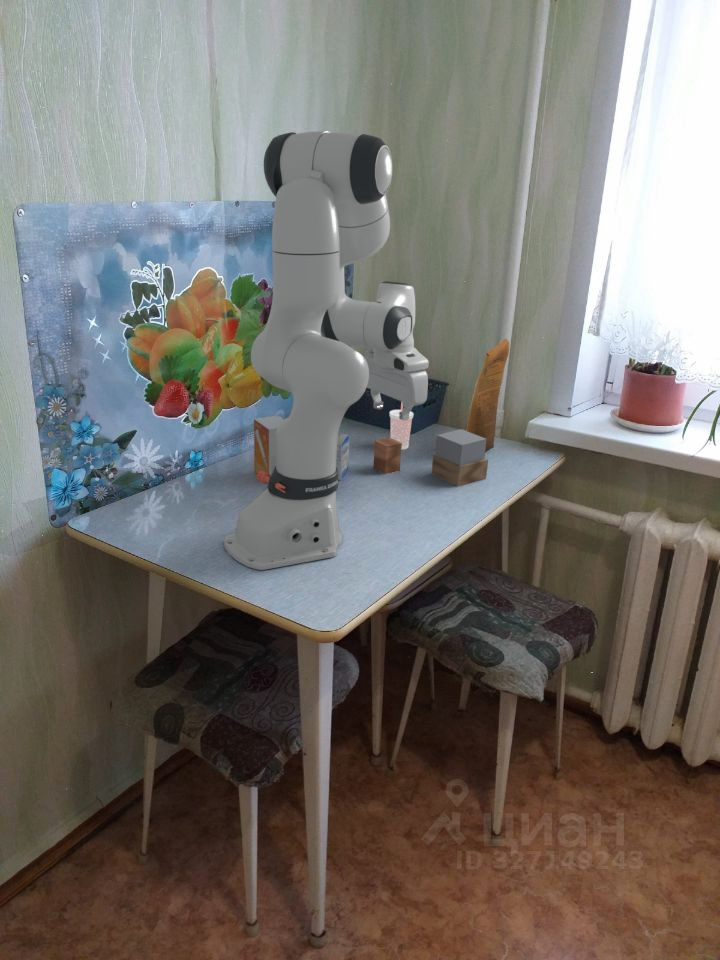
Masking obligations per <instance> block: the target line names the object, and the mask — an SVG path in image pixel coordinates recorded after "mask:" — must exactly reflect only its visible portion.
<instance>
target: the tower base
mask: <svg viewBox="0 0 720 960" xmlns="http://www.w3.org/2000/svg"><path fill="white" fill-rule="evenodd" d="M488 463H489V459H487V458H485V457H484V459H483V460H480V461H476V462H473V463H469V464H466V465H462V466H459V465H456V464H454V463H452V462H449V461H447V460H445V459H443V458H440V457H438V456H436V455H435V454H432V463H431V464H432V465H431V475H433V476H436V477H437V478H439V479H441V480H443V481H446V482H448V483H450V484H452V485H454V486H456V487H461V486H464V485H468V484H472V483H476V482H480V481H484V480H486V479H487V475H488V473H487V472H488V466H489V464H488Z"/></svg>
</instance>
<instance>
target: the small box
mask: <svg viewBox="0 0 720 960" xmlns="http://www.w3.org/2000/svg"><path fill="white" fill-rule="evenodd" d="M283 420H285V419H284V418H283V417H281V416H280V415H273V416H265V417H257V418H254V419H253V436H254V437H253V447H254V451H253V452H254V453H253V454H254V455H253V456H254V460H253V462H254V463H253V465H254V468H253V470H254V473H255V474H256V475H257V474H259V473H258V472H259V471H265V472H266V473H268V474H269V475H270V477H271V475H272V472H273V470H274V467H275V466H276V430H277V427H278V426H279V424H280V423H281V422H282V421H283Z"/></svg>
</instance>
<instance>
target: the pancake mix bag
mask: <svg viewBox="0 0 720 960" xmlns="http://www.w3.org/2000/svg"><path fill="white" fill-rule="evenodd" d="M509 351H510V342H509V340H508V339H507V338H504V339H503V340H501V341H500V342H499V343H498V344H497V345H495V346H494V347H492V348H490V349H488V350H487V351H486V354H485V356H484V360H483V364H482V366H481V369H480V371H479V373H478V376H477V379H476V382H475V384H474V388H473V391H472V398H471V402H470V407H469V411H468V418H467V423H466V425H465V429H464V430H465V431H467V432H470V433H473V434H475V435H478V436H480V437H483V438H486V439H487V440H486V448H485V453H486V452H488V450H491V449H492V448H494V447H495V436H496V429H497V428H496V427H497V426H496V425H497V412H498V404H499V397H500V394H501V393H500V391H501V386H502V382H503V379H504V373H505V372H504V371H505V368H506V365H507V360H508V356H509V353H510V352H509Z"/></svg>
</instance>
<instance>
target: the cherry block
mask: <svg viewBox="0 0 720 960" xmlns="http://www.w3.org/2000/svg"><path fill="white" fill-rule="evenodd" d="M373 447H374V449H373V450H374V451H373V466H372V468H373V470H375V469H376V470H375V471H377V470H378V472H379V471H380V472H379V473H381V472H382V474H383V473H384V474H383V475H388V474H387V473H389V474H393V473H397V472H400V471H401V460H402V450H401V448H402V443H401V442H399V441H396V440H394V439H392V438H391V437H385V438H381V439H376V440H374V446H373ZM396 471H397V472H396ZM392 472H393V473H392Z"/></svg>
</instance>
